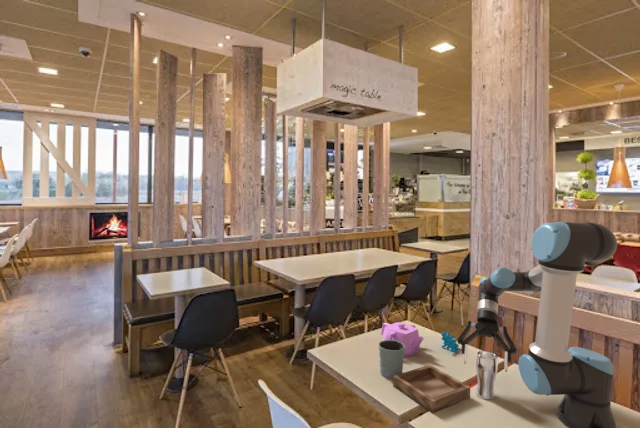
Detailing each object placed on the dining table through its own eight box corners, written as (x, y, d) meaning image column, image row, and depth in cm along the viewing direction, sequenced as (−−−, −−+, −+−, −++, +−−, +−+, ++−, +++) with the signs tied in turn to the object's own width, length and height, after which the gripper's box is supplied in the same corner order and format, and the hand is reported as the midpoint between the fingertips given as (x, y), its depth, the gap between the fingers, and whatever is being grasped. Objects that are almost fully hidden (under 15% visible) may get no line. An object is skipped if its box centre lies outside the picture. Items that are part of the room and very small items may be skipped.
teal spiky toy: (451, 352, 164) (439, 331, 170) (442, 358, 167) (430, 338, 173) (464, 349, 171) (452, 329, 177) (455, 355, 174) (443, 335, 180)
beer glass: (483, 401, 129) (485, 360, 128) (470, 391, 136) (472, 351, 135) (500, 399, 131) (502, 358, 130) (486, 388, 138) (488, 349, 137)
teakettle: (379, 341, 179) (380, 316, 178) (415, 342, 178) (416, 317, 178) (384, 357, 162) (385, 330, 161) (423, 358, 162) (425, 331, 161)
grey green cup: (407, 372, 149) (408, 343, 148) (398, 383, 140) (400, 352, 140) (383, 365, 154) (384, 337, 153) (374, 376, 146) (374, 346, 145)
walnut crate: (469, 397, 131) (470, 387, 131) (432, 413, 122) (432, 401, 121) (429, 374, 148) (429, 364, 147) (393, 386, 138) (393, 376, 138)
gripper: (522, 323, 144) (522, 378, 132) (454, 313, 155) (449, 363, 142) (524, 314, 139) (525, 370, 127) (453, 304, 150) (448, 355, 137)
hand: (485, 366), depth 134 cm, fingers open, 13 cm apart
